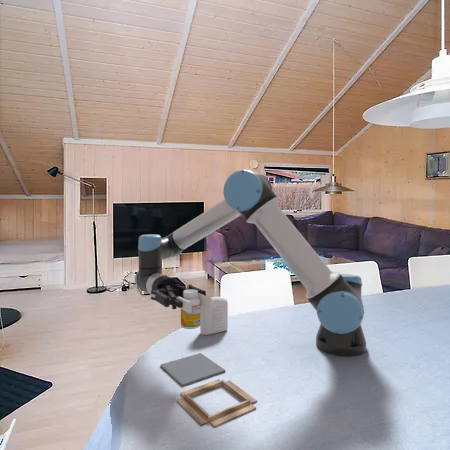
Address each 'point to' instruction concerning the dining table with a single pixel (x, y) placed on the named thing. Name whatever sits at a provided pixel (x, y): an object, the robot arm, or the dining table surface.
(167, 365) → the slate mat
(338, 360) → the dining table surface
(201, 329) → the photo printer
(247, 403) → the square tan frame
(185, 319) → the supplement bottle
